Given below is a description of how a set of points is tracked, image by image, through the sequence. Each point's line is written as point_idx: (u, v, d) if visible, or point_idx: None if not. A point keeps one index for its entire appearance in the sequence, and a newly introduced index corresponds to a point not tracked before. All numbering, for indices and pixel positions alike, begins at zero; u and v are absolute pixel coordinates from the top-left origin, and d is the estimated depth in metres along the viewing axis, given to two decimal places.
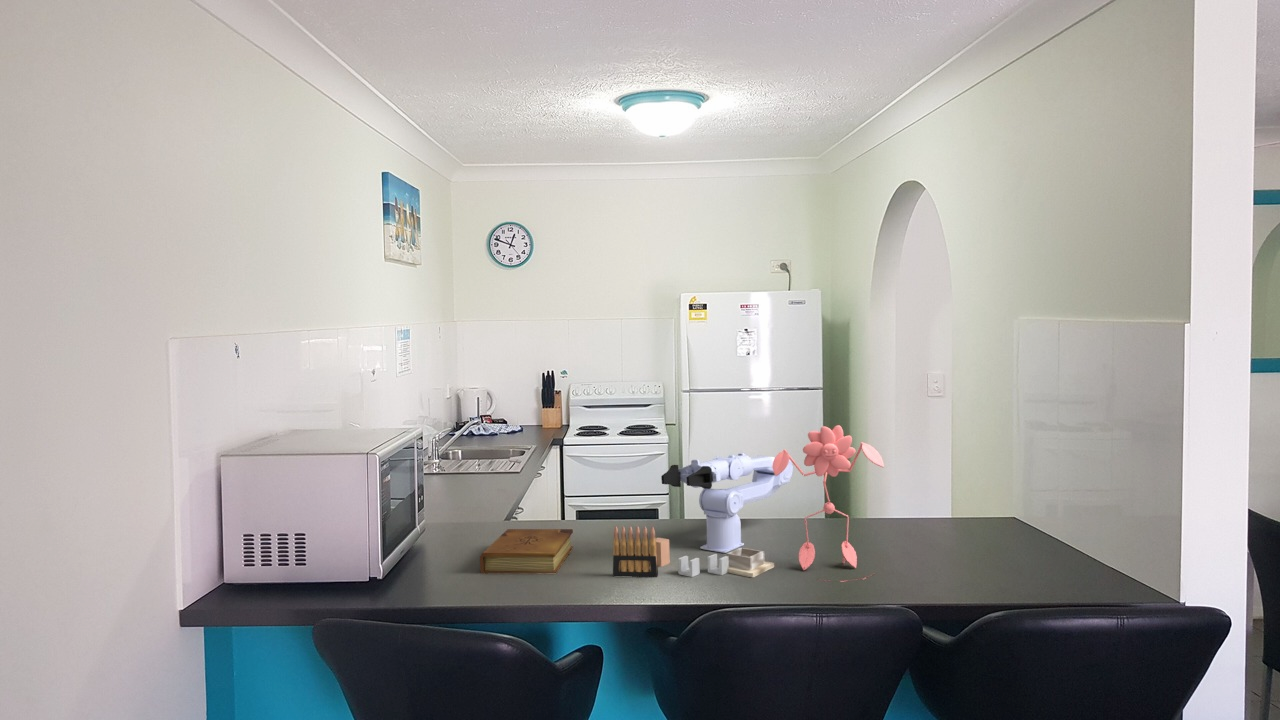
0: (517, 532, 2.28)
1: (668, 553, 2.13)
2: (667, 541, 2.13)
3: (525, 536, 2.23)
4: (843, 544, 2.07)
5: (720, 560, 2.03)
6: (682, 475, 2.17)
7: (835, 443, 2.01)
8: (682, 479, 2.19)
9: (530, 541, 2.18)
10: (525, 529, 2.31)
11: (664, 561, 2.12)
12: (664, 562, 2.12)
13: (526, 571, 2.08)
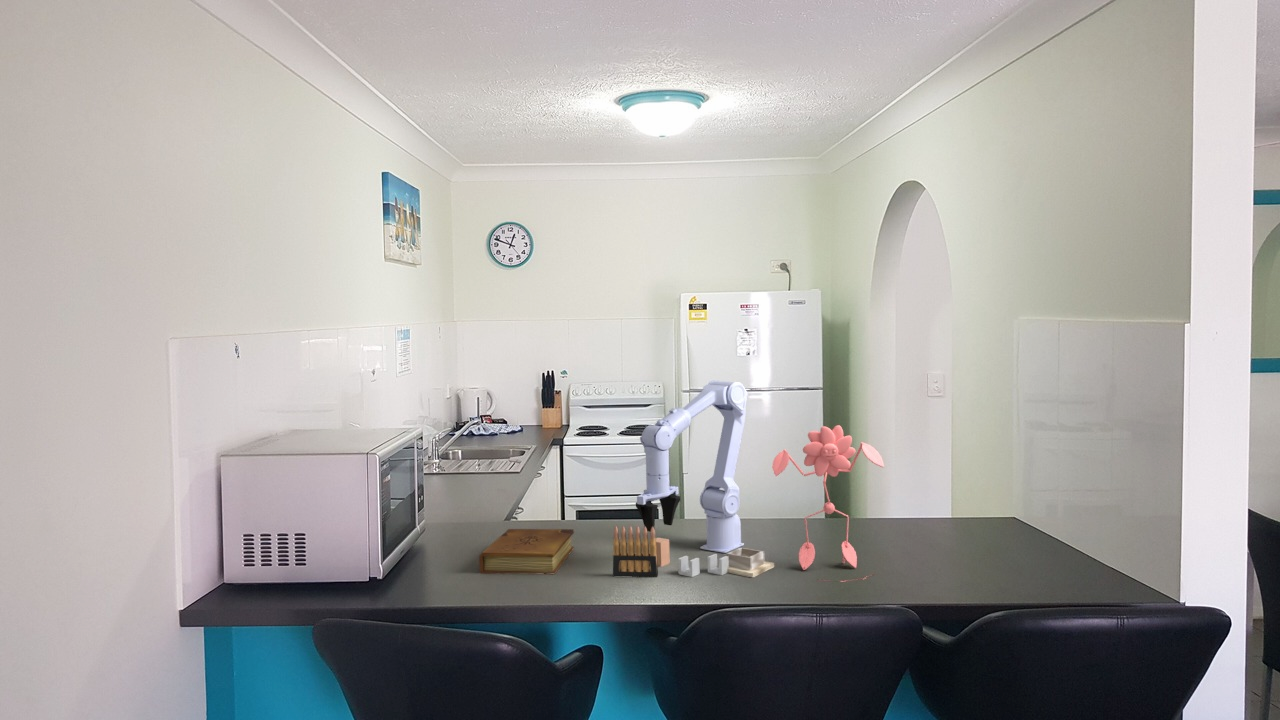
0: (518, 532, 2.28)
1: (668, 553, 2.13)
2: (667, 541, 2.13)
3: (525, 536, 2.23)
4: (843, 544, 2.07)
5: (720, 560, 2.03)
6: None
7: (835, 443, 2.01)
8: None
9: (530, 541, 2.18)
10: (526, 529, 2.31)
11: (664, 561, 2.12)
12: (664, 562, 2.12)
13: (525, 571, 2.08)
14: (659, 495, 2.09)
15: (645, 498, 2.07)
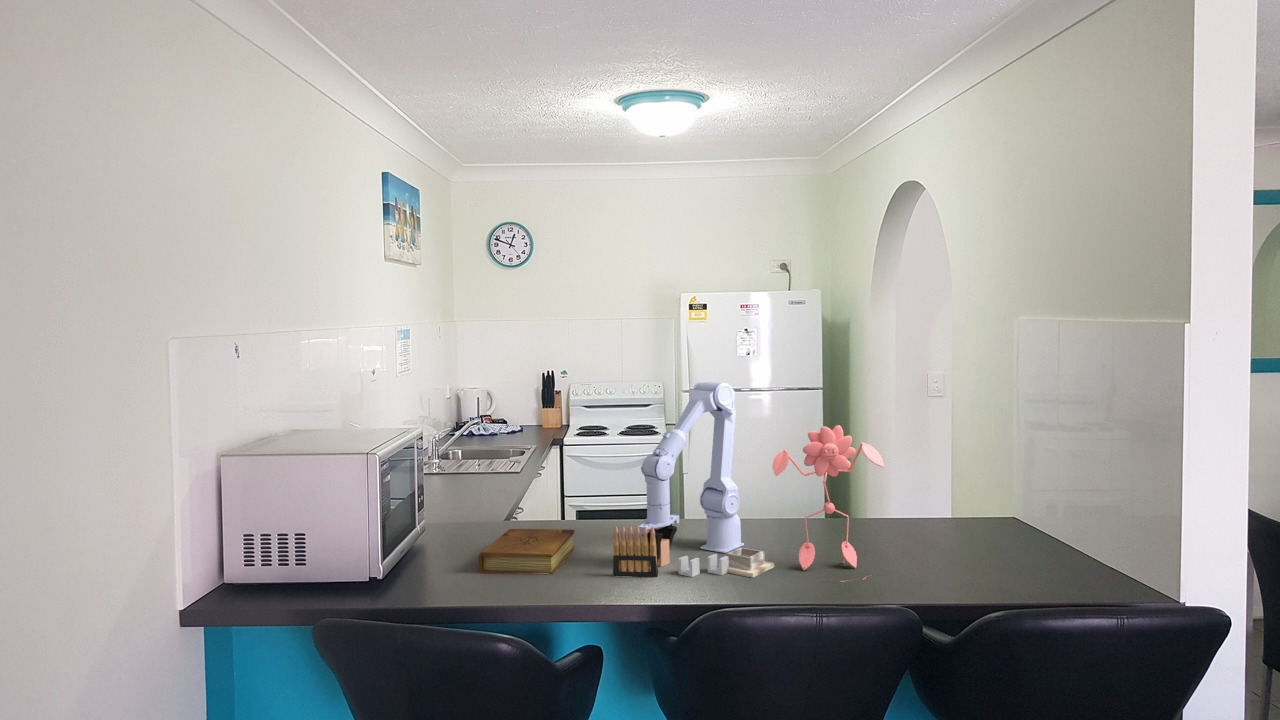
0: (519, 532, 2.28)
1: (668, 553, 2.13)
2: (667, 541, 2.13)
3: (526, 536, 2.23)
4: (843, 544, 2.07)
5: (720, 560, 2.03)
6: None
7: (835, 443, 2.01)
8: None
9: (530, 541, 2.18)
10: (527, 529, 2.31)
11: (664, 561, 2.12)
12: (664, 562, 2.12)
13: (524, 571, 2.08)
14: (660, 525, 2.09)
15: None
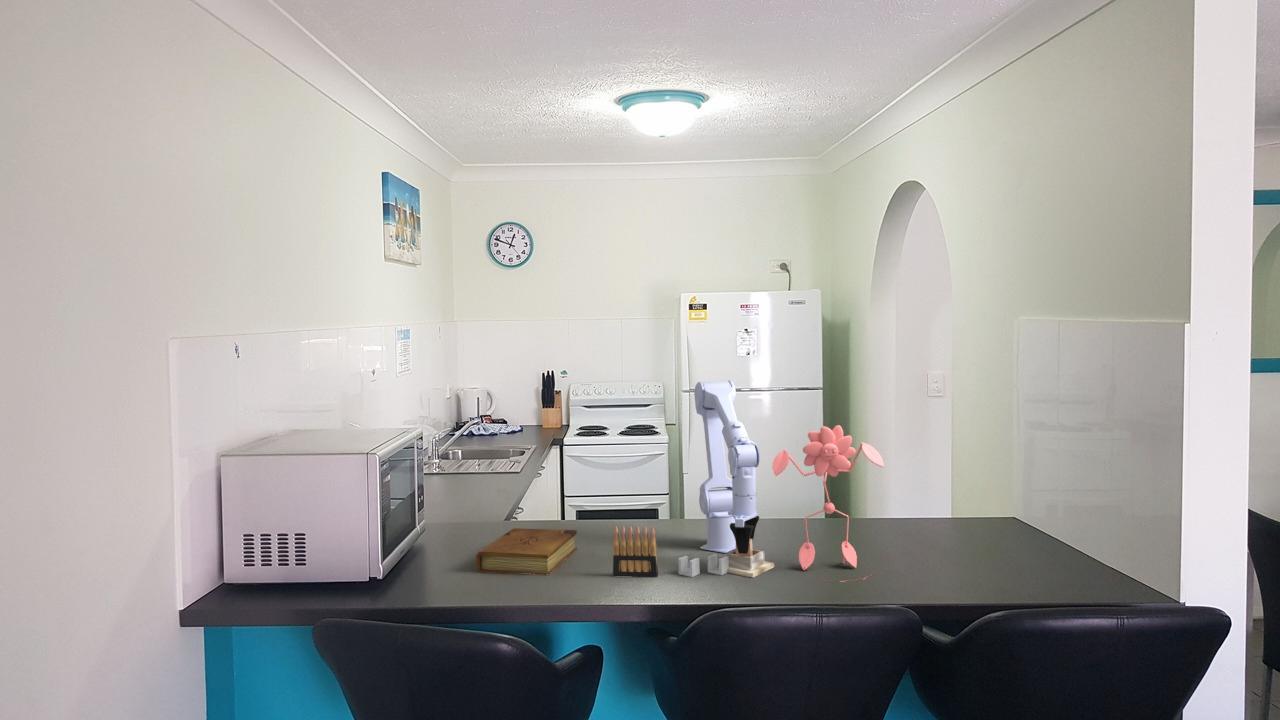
0: (521, 532, 2.28)
1: (752, 553, 2.08)
2: (751, 540, 2.07)
3: (527, 536, 2.24)
4: (843, 544, 2.07)
5: (720, 560, 2.03)
6: None
7: (835, 443, 2.01)
8: None
9: (530, 541, 2.18)
10: (530, 529, 2.31)
11: None
12: None
13: (521, 571, 2.08)
14: (752, 516, 2.03)
15: (744, 520, 2.00)
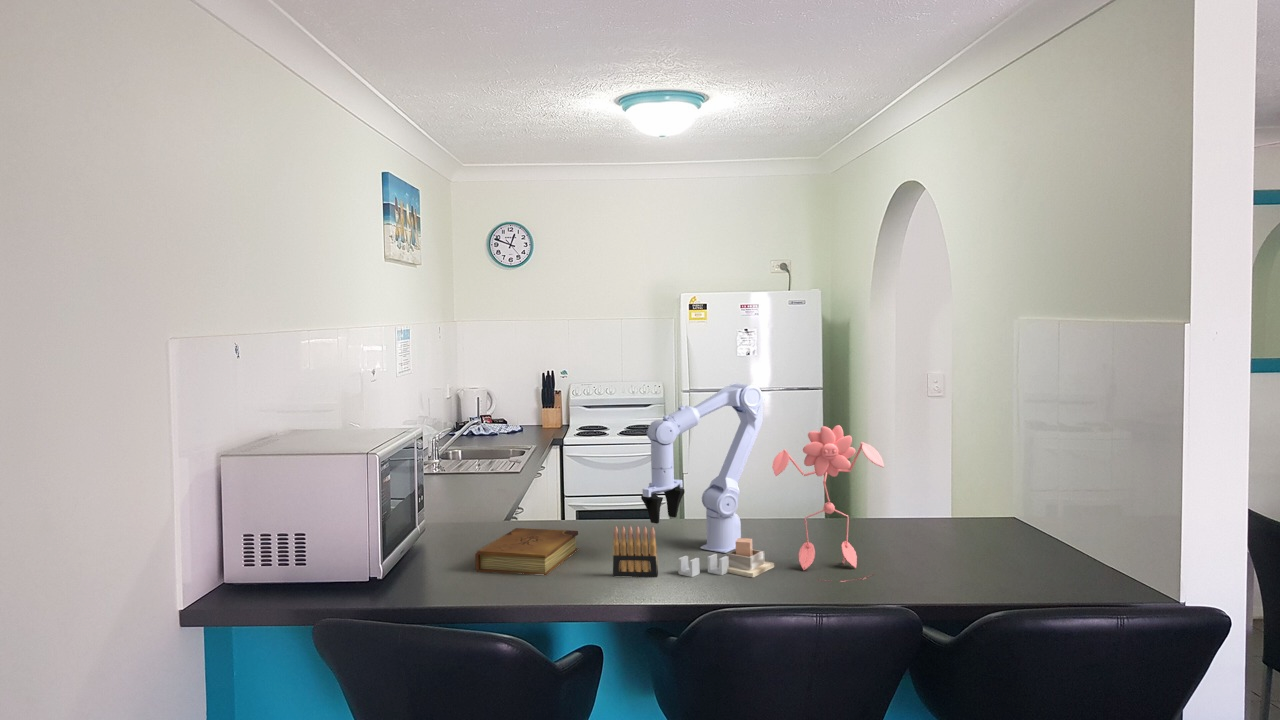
0: (523, 531, 2.28)
1: (752, 553, 2.08)
2: (751, 540, 2.07)
3: (528, 536, 2.24)
4: (843, 544, 2.07)
5: (720, 560, 2.03)
6: None
7: (835, 443, 2.01)
8: None
9: (529, 541, 2.18)
10: (532, 529, 2.31)
11: None
12: None
13: (519, 571, 2.08)
14: (664, 488, 2.16)
15: (650, 491, 2.13)
